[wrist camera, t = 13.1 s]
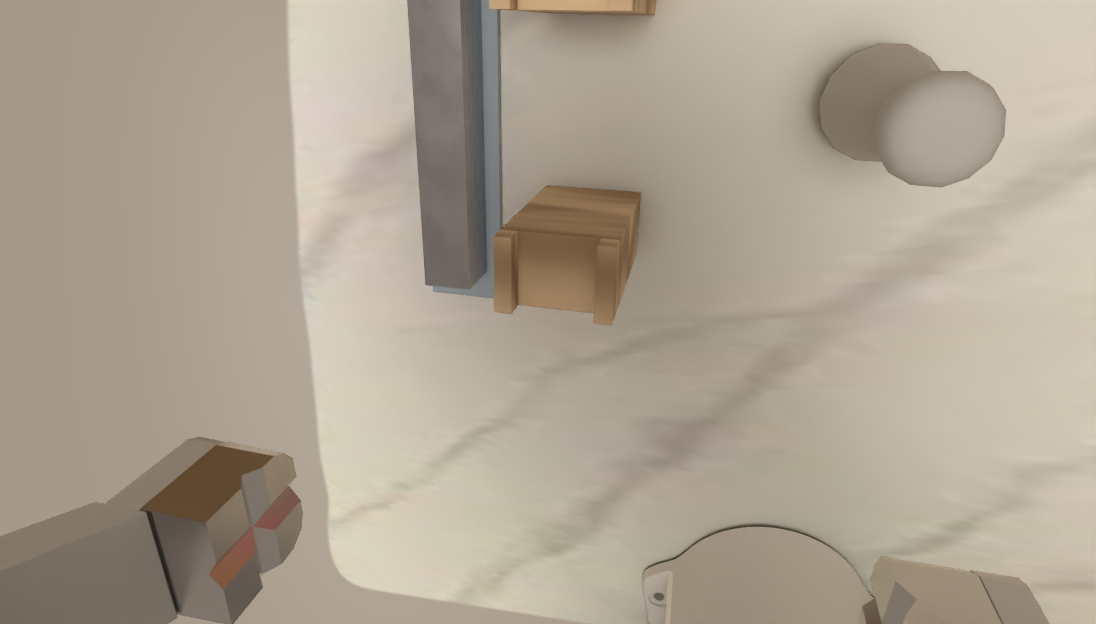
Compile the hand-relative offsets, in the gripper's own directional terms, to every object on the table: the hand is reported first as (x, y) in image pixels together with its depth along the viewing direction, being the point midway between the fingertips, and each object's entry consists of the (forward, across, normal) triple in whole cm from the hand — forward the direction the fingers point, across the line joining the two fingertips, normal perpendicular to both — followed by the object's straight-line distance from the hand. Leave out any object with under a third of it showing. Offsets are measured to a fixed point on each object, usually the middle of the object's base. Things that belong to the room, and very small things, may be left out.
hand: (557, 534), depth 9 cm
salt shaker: (+33, -10, -3) cm, 35 cm away
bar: (+33, +13, -2) cm, 35 cm away
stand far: (+33, +5, +5) cm, 34 cm away
